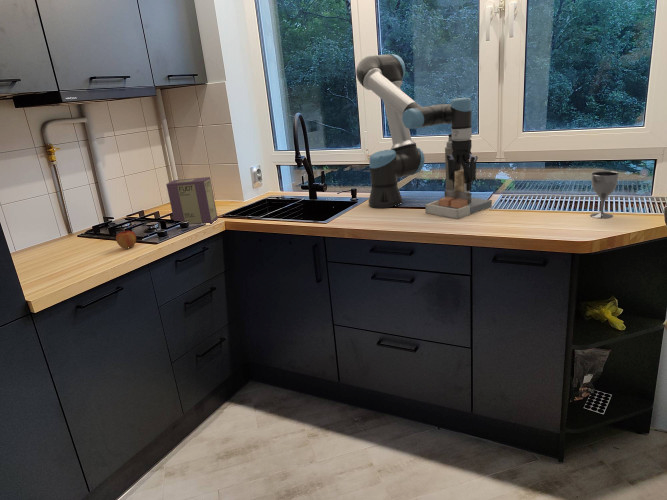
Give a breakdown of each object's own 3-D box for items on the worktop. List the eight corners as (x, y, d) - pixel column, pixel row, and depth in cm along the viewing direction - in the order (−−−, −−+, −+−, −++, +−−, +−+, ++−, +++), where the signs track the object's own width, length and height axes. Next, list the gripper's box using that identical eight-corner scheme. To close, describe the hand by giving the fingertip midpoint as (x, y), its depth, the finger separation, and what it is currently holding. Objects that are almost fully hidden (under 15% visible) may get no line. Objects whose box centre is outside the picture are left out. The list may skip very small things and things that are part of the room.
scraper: (444, 200, 195) (444, 171, 191) (453, 197, 198) (453, 168, 194) (468, 203, 186) (468, 173, 182) (477, 200, 189) (477, 171, 185)
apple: (128, 251, 183) (123, 231, 181) (114, 250, 186) (109, 231, 184) (142, 245, 190) (137, 226, 187) (128, 244, 192) (123, 226, 190)
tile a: (439, 205, 192) (438, 199, 191) (446, 202, 194) (446, 196, 194) (447, 206, 188) (447, 200, 188) (455, 203, 191) (455, 197, 190)
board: (437, 209, 196) (437, 203, 195) (459, 201, 204) (459, 195, 203) (469, 214, 184) (469, 208, 183) (491, 206, 191) (491, 200, 190)
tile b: (451, 206, 187) (451, 200, 186) (458, 204, 190) (458, 198, 189) (460, 208, 184) (460, 202, 183) (467, 205, 186) (467, 199, 185)
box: (218, 219, 218) (210, 176, 211) (211, 225, 209) (203, 180, 203) (183, 222, 219) (174, 180, 213) (175, 228, 211) (166, 184, 204)
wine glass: (611, 212, 168) (615, 170, 163) (617, 218, 161) (621, 175, 156) (586, 213, 170) (589, 171, 166) (591, 219, 163) (594, 176, 158)
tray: (425, 213, 192) (425, 204, 191) (437, 209, 196) (437, 200, 195) (457, 219, 180) (457, 209, 178) (469, 214, 184) (469, 205, 182)
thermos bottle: (449, 195, 217) (448, 133, 208) (466, 195, 213) (466, 132, 204) (443, 199, 211) (441, 135, 202) (461, 199, 207) (460, 134, 198)
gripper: (438, 140, 189) (439, 197, 196) (473, 141, 176) (473, 202, 183) (450, 137, 193) (451, 193, 200) (486, 138, 180) (485, 198, 187)
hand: (462, 197), depth 192 cm, fingers closed on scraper, 4 cm apart
